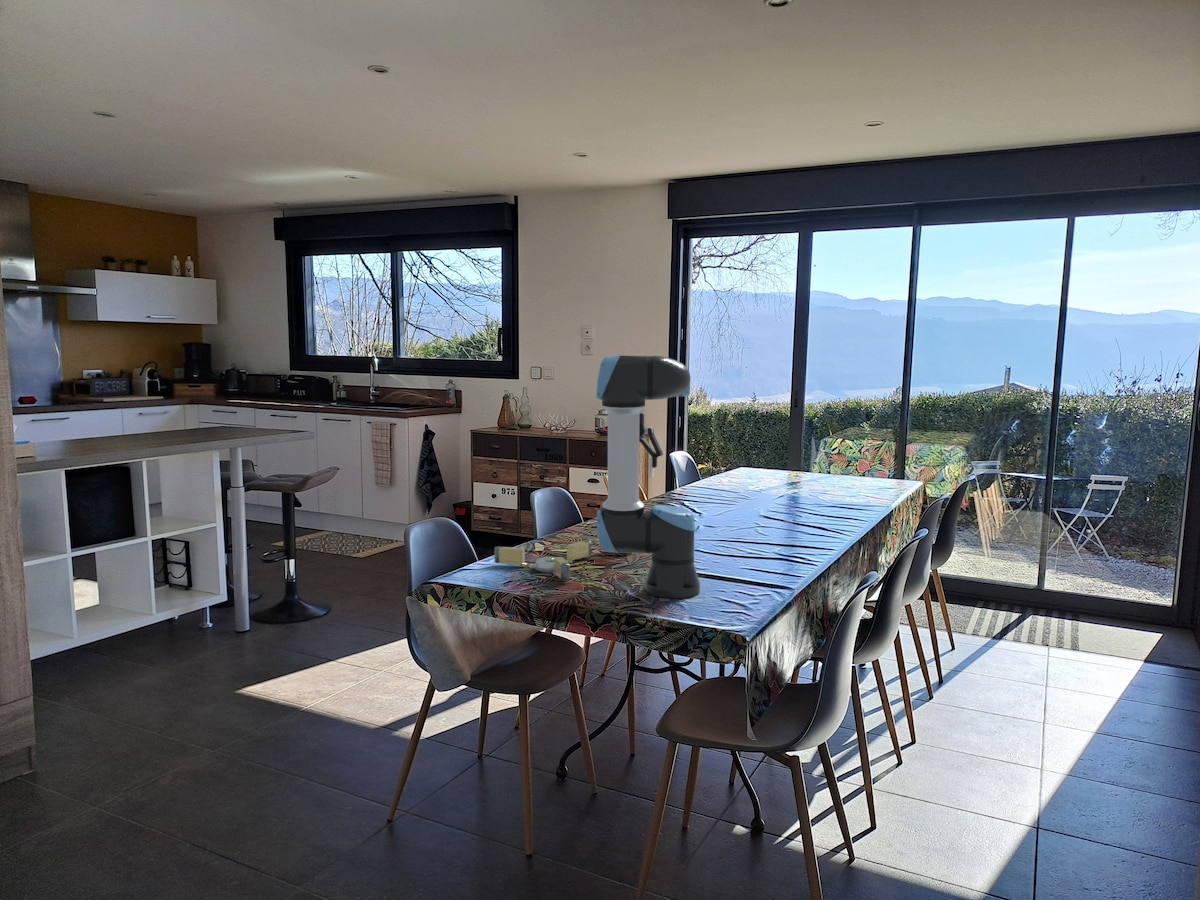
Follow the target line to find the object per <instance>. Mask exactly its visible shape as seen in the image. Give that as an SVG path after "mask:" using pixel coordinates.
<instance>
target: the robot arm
mask: <svg viewBox="0 0 1200 900" xmlns="http://www.w3.org/2000/svg"><path fill="white" fill-rule="evenodd" d="M598 370H599V371H598V377H597V383H596V399H597V400H598V401H601V407H602V408H603V409H604V410H605V412H607V442H606V444H605V446H604V448H603V450H602V453H603V454H604V455H607V499H606V500H604V502H602V504H601V506H602V507H601V509H598V510H597V512H596V528H597V529H596V530H597V535H598V536H597V537H598V543H599V545H600V548H601V550H603V552H607V553H616V554H629V553H634V554H651V565H649V566H650V567H649V570H648V573H647V576H646V578H645V581H644V590H645V592H646V594H649V595H651V596H654V597H659V598H666V599H684V598H685V599H687V598H691V597H694V596H697V595H698V594H700V592H701V583H700V580H699V576H698V573H697V569H696V567H695V531H696V527H695V516H694V513H692V512H691V511H690V510H689V509H687V508H686V509H685V508H683V507H680V506H676V505H675V506H674V505H666V504H661V505H660V504H656V505H653V506H652V508H651V510H645V503H644V502H643V501H641V499H640V444H641V445H642V446H643V447H644V448H645V450H646V452H648V453H649V455H650V456H651V457H649V471H648V472H649V473H648V474H649V477H648V478H649V479H652V478H654V477H655V468H657V467H658V458H659V457H661V456H663V455H664V453H663V451H662V448H661V447H660V444H659V441H658V440H657V437H656V435H655V431H654V428H653V427H647V428H646V427H645V414H644V411H645V408H646V401H648V400H649V401H650V400H665V399H669V398H670V399H671V398H674V397H677V398H678V397H688V396H690V394H691V392H690V391H691V374H690V373H691V372H690V371H689V369H688V367H687V366H686V365H685V364H684V363H682V362H681V361H678V360H676V359H673V358H670V357H667V356H662V355H620V354H618V355H609V356H608V355H607V356H605V357H603V358H602V360H601V362H600V365H599V369H598ZM644 434H646V435H647V436H648V438H649V440H650V443H651V444H652V445H651V444H650V443H649V442H648V440H647V439H646V437H645V436H644Z"/></svg>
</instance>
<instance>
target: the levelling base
mask: <svg viewBox="0 0 1200 900" xmlns="http://www.w3.org/2000/svg"><path fill="white" fill-rule="evenodd" d="M554 557H555V556H545V557H539V558H537V559H536V560H535V563H530V564H529V569H535V571H538V572H540V573H548V574H551V573H552V574H553V575H554Z"/></svg>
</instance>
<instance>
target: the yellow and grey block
mask: <svg viewBox="0 0 1200 900" xmlns="http://www.w3.org/2000/svg"><path fill="white" fill-rule="evenodd" d="M525 549H526V548H525V547H514V546H513V547H512V546H495V547H494V563H496V564H512V565H516V564H517V565H519V566H520V568H527V567H528V563H527V562H525V561H526V559H525V557H526V555H525V554H526V550H525Z"/></svg>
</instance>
